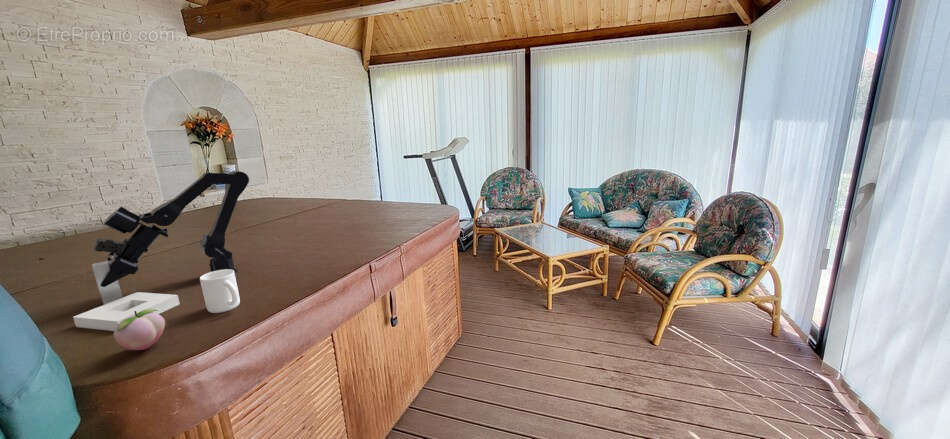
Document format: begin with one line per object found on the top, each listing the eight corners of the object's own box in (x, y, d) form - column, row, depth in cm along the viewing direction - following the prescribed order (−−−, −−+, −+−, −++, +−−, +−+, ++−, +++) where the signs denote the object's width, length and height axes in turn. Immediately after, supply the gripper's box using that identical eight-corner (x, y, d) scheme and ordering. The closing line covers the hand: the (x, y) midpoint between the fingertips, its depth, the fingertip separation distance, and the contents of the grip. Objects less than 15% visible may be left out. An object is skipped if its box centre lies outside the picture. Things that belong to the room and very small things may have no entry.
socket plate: (139, 300, 116) (137, 292, 115) (179, 304, 112) (177, 295, 111) (76, 326, 101) (72, 316, 100) (120, 331, 97) (117, 321, 96)
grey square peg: (122, 298, 118) (111, 260, 115) (123, 302, 115) (112, 262, 112) (103, 303, 115) (92, 263, 112) (104, 307, 112) (92, 267, 109)
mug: (253, 306, 108) (246, 273, 106) (223, 319, 102) (215, 284, 99) (231, 298, 114) (224, 267, 112) (201, 310, 108) (193, 277, 105)
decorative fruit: (142, 339, 92) (132, 303, 90) (176, 337, 93) (167, 301, 91) (108, 362, 83) (96, 322, 81) (146, 359, 84) (134, 319, 81)
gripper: (109, 223, 119) (70, 265, 114) (112, 232, 106) (67, 280, 101) (147, 241, 126) (112, 281, 121) (154, 251, 114) (115, 297, 108)
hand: (101, 284), depth 113 cm, fingers closed on grey square peg, 4 cm apart
